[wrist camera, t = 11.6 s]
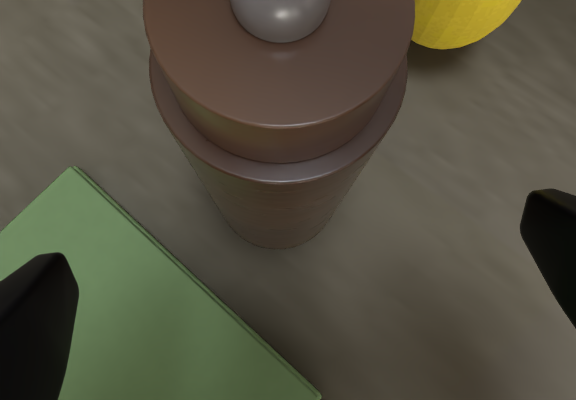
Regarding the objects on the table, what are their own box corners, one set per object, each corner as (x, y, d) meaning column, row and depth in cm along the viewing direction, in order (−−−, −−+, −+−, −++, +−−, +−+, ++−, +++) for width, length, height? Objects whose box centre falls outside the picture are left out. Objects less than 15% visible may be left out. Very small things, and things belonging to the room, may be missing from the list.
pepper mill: (289, 273, 19) (323, 209, 5) (193, 201, 19) (9, -20, 6) (359, 179, 20) (534, -74, 6) (266, 113, 20) (248, -248, 7)
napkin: (180, 568, 16) (172, 588, 15) (-67, 308, 18) (-90, 309, 17) (321, 393, 18) (324, 399, 17) (80, 168, 20) (67, 160, 18)
